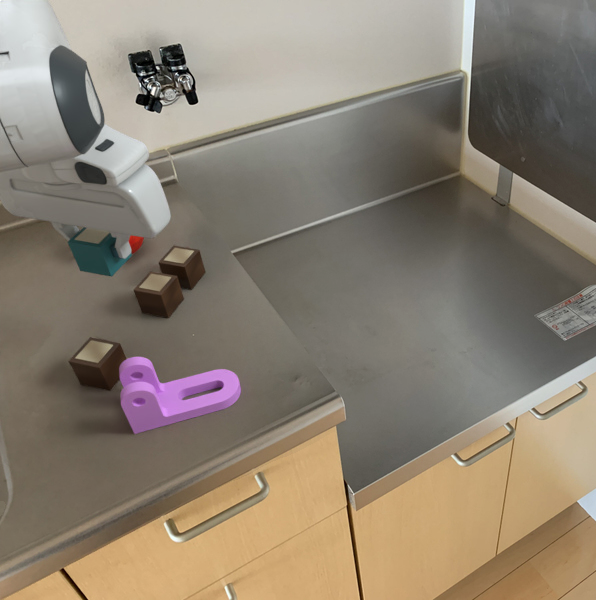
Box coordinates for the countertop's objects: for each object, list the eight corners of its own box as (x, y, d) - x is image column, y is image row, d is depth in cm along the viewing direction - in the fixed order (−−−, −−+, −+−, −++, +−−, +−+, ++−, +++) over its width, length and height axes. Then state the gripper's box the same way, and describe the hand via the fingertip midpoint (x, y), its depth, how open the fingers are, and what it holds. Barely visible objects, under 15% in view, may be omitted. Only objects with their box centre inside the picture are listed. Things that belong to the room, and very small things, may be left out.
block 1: (110, 391, 77) (98, 367, 74) (80, 384, 78) (67, 360, 75) (130, 366, 80) (120, 342, 77) (101, 360, 81) (89, 336, 78)
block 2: (191, 290, 92) (184, 266, 89) (165, 285, 93) (157, 261, 90) (205, 272, 95) (199, 249, 92) (180, 267, 96) (173, 244, 93)
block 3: (168, 318, 87) (160, 294, 84) (141, 313, 88) (132, 289, 85) (184, 298, 91) (177, 275, 88) (158, 293, 91) (149, 270, 88)
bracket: (134, 434, 72) (116, 396, 68) (132, 399, 76) (115, 361, 72) (244, 403, 76) (234, 365, 71) (237, 371, 80) (227, 333, 75)
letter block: (111, 276, 74) (99, 246, 71) (80, 271, 75) (66, 241, 72) (132, 255, 77) (121, 225, 74) (102, 250, 78) (90, 220, 75)
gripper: (-43, 150, 65) (12, 253, 74) (126, 175, 61) (162, 281, 70) (0, 124, 70) (47, 224, 79) (160, 146, 66) (189, 249, 75)
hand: (102, 251), depth 75 cm, fingers closed on letter block, 4 cm apart
